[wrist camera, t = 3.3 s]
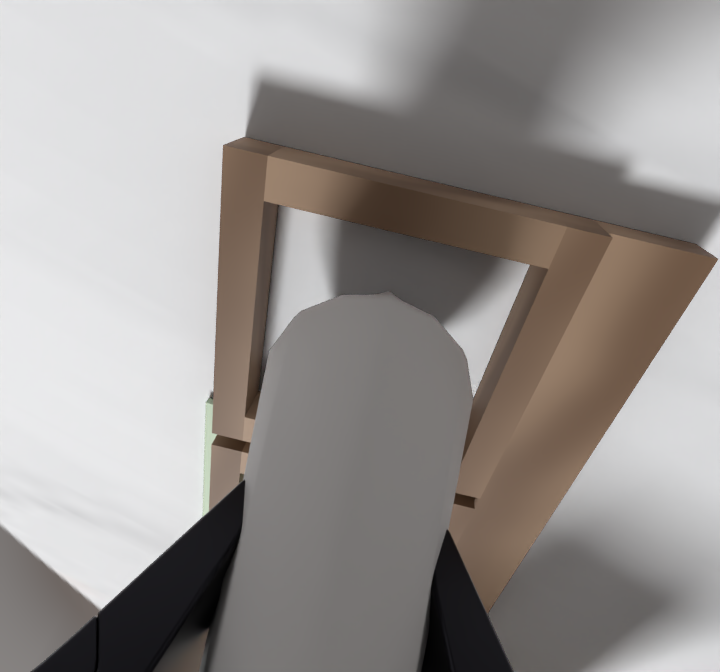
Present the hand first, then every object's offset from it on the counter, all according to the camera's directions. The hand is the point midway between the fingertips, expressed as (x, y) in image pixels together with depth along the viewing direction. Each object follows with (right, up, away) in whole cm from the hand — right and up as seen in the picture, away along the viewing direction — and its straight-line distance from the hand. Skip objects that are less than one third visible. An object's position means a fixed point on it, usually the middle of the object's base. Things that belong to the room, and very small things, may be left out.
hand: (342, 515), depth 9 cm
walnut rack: (+1, -1, +9) cm, 10 cm away
